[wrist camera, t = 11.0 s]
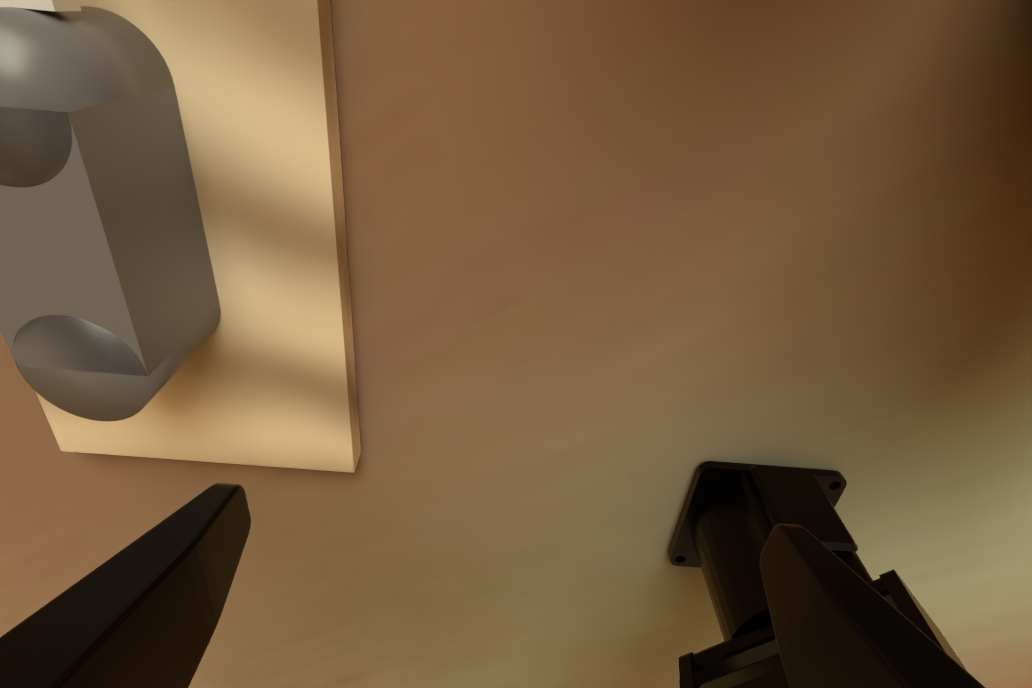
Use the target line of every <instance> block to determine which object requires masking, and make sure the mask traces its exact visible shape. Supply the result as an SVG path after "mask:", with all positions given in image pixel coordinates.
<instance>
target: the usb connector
mask: <svg viewBox="0 0 1032 688" xmlns="http://www.w3.org/2000/svg"><path fill="white" fill-rule="evenodd" d="M0 6H5V7H0V329H1V331H2V334H3V336H4V338H5V340H6V343H7V345H8V347H9V349H10V352H11V354H12V356H13V358H14V360H15V363H16V365H17V367H18V369H19V371H20V373H21V374H22V376H23V377H24V379H25V380H26V381H27V383H28V384H29V385H30V386H31V387H32V388H33V389H34V390H35V391H36V392H37V393H38V394H39V395H40V396H42V397H43V398H44V399H45V400H47V401H48V402H50V403H51V404H53V405H54V406H56V407H58V408H60V409H62V410H64V411H66V412H68V413H70V414H73V415H75V416H78V417H82V418H85V419H90V420H95V421H108V422H110V421H119V420H124V419H127V418H130V417H132V416H134V415H136V414H137V413H138V412H140V411H141V410H142V409H143V408H144V407H145V406H146V405H147V403H148V402H149V401H150V400H151V399H152V398H153V397H154V396H155V395H156V394H157V393H158V392H159V391H160V390H161V388H162V387H163V386H164V385H165V384H166V383H167V382H168V381H169V380H170V379H171V378H172V377H173V376H174V374H175V373H176V372H177V371H178V370H179V369H180V368H181V367H182V366H183V365H184V364H185V363H186V362H187V361H188V359H189V358H190V357H191V356H192V355H193V354H194V353H195V352H196V351H197V350H198V349H199V348H200V347H201V346H202V344H203V343H204V342H205V341H206V340H207V339H208V338H209V337H210V336H211V335H212V334H213V333H214V331H215V330H216V328H217V327H218V324H219V322H220V316H221V309H220V303H219V298H218V293H217V288H216V284H215V279H214V274H213V269H212V264H211V260H210V255H209V250H208V245H207V240H206V235H205V231H204V226H203V221H202V216H201V211H200V206H199V202H198V197H197V192H196V187H195V182H194V178H193V173H192V168H191V163H190V158H189V153H188V149H187V144H186V139H185V134H184V129H183V124H182V120H181V115H180V110H179V105H178V100H177V96H176V91H175V86H174V82H173V78H172V76H171V73H170V70H169V68H168V66H167V64H166V62H165V60H164V58H163V57H162V55H161V53H160V52H159V50H158V49H157V48H156V46H155V45H154V44H153V43H152V41H151V40H150V39H149V38H148V37H147V36H146V35H145V34H144V33H143V32H142V31H141V30H140V29H139V28H137V27H136V26H135V25H133V24H132V23H131V22H129V21H128V20H126V19H125V18H123V17H121V16H119V15H117V14H115V13H113V12H111V11H108V10H105V9H102V8H97V7H91V6H80V4H79V0H0Z"/></svg>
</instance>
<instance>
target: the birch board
mask: <svg viewBox="0 0 1032 688" xmlns="http://www.w3.org/2000/svg"><path fill="white" fill-rule="evenodd" d="M79 4H80V6H91V7H97V8H102V9H105V10H108V11H111V12H113V13H115V14H117V15H119V16H121V17H123V18H125V19H126V20H128V21H129V22H131V23H132V24H133V25H135V26H136V27H137V28H139V29H140V30H141V31H142V32H143V33H144V34H145V35H146V36H147V37H148V38H149V39H150V40H151V41H152V43H153V44H154V45H155V46H156V48H157V49H158V50H159V52H160V53H161V55H162V57H163V58H164V60H165V62H166V64H167V66H168V68H169V70H170V73H171V76H172V78H173V82H174V86H175V91H176V96H177V100H178V105H179V110H180V115H181V120H182V124H183V129H184V134H185V139H186V144H187V149H188V153H189V158H190V163H191V168H192V173H193V178H194V182H195V187H196V192H197V197H198V202H199V206H200V211H201V216H202V221H203V226H204V231H205V235H206V240H207V245H208V250H209V255H210V260H211V264H212V269H213V274H214V279H215V284H216V288H217V293H218V298H219V303H220V309H221V316H220V322H219V324H218V327H217V328H216V330H215V331H214V333H213V334H212V335H211V336H210V337H209V338H208V339H207V340H206V341H205V342H204V343H203V344H202V346H201V347H200V348H199V349H198V350H197V351H196V352H195V353H194V354H193V355H192V356H191V357H190V358H189V359H188V361H187V362H186V363H185V364H184V365H183V366H182V367H181V368H180V369H179V370H178V371H177V372H176V373H175V374H174V376H173V377H172V378H171V379H170V380H169V381H168V382H167V383H166V384H165V385H164V386H163V387H162V388H161V390H160V391H159V392H158V393H157V394H156V395H155V396H154V397H153V398H152V399H151V400H150V401H149V402H148V403H147V405H146V406H145V407H144V408H143V409H142V410H141V411H140V412H138V413H137V414H136V415H134V416H132V417H130V418H127V419H124V420H119V421H110V422H108V421H95V420H90V419H85V418H82V417H78V416H75V415H73V414H70V413H68V412H66V411H64V410H62V409H60V408H58V407H56V406H54V405H53V404H51V403H50V402H48V401H47V400H45V399H44V398H43V397H42V396H40V395H39V394H38V393H37V392H36V394H37V396H38V398H39V400H40V403H41V405H42V407H43V410H44V412H45V414H46V417H47V419H48V421H49V424H50V426H51V428H52V430H53V433H54V435H55V437H56V440H57V442H58V444H59V447H60V449H61V451H69V452H82V453H96V454H109V455H123V456H136V457H150V458H163V459H177V460H190V461H204V462H218V463H231V464H245V465H258V466H272V467H285V468H299V469H312V470H326V471H339V472H353V473H354V472H355V469H356V466H357V463H358V460H359V458H360V455H361V444H360V429H359V414H358V400H357V385H356V370H355V356H354V341H353V326H352V311H351V297H350V282H349V267H348V253H347V238H346V223H345V208H344V194H343V179H342V164H341V150H340V135H339V120H338V105H337V91H336V76H335V61H334V47H333V32H332V17H331V3H330V0H79ZM0 7H5V6H0Z"/></svg>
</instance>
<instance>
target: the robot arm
mask: <svg viewBox="0 0 1032 688" xmlns="http://www.w3.org/2000/svg"><path fill="white" fill-rule="evenodd" d="M709 472H712V473H710V474H707V473H709ZM846 484H847V483H846V480H845V478H844V477H843V475H842V474H841V473H840V472H838V471H833V470H820V469H807V468H793V467H780V466H767V465H754V464H741V463H728V462H715V461H708V462H704V463H702V464H701V465H699V467H698V468H697V471H696V474H695V477H694V480H693V482H692V485H691V488H690V491H689V494H688V497H687V500H686V502H685V505H684V508H683V511H682V514H681V517H680V520H679V523H678V525H677V528H676V531H675V534H674V537H673V540H672V543H671V545H670V548H669V551H668V555H669V559H670V562H671V563H672V564H673V565H676V566H687V567H701V568H702V571H703V574H704V578H705V581H706V584H707V587H708V590H709V593H710V597H711V600H712V603H713V606H714V609H715V612H716V616H717V619H718V622H719V625H720V628H721V632H722V635H723V638H724V641H725V642H722V643H720V644H717V645H715V646H712V647H710V648H707V649H705V650H702V651H700V652H698V653H695V654H693V653H692V652H691V653H688V654H686V655H683V656H681V657H679V671H680V688H985V687H984V686H983V685H982V684H981V683H979V682H978V681H977V680H976V679H975V678H974V677H973V676H972V675H970V674H969V673H968V672H967V670H966V669H965V667H964V666H963V664H962V663H961V661H960V660H959V658H958V657H957V655H956V654H955V652H954V651H953V649H952V648H951V646H950V645H949V643H948V642H947V640H946V639H945V638H944V636H943V635H942V633H941V632H940V630H939V629H938V627H937V626H936V625H935V623H934V622H933V621H932V619H931V618H930V617H929V615H928V614H927V613H926V611H925V610H924V609H923V607H922V606H921V605H920V603H919V602H918V601H917V599H916V598H915V597H914V595H913V594H912V593H911V591H910V590H909V589H908V587H907V586H906V585H905V583H904V582H903V581H902V579H901V578H900V577H899V575H898V574H897V573H896V571H895V570H894V569H893V570H891V571H888V572H886V573H884V574H881V575H879V576H880V578H879V579H877V580H874V581H873V580H872V578H871V577H870V575H869V573H868V572H867V570H866V568H865V567H864V565H863V563H862V562H861V560H860V558H859V557H858V555H857V553H856V551H857V550H858V547H857V545H856V543H855V541H854V540H853V538H852V536H851V535H850V533H849V532H848V530H847V528H846V527H845V525H844V523H843V522H842V520H841V519H840V517H839V515H838V514H837V512H836V510H835V509H834V507H835V505H836V503H837V502H838V500H839V498H840V496H841V494H842V493H843V491H844V489H845V487H846ZM250 525H251V518H250V513H249V508H248V504H247V499H246V494H245V491H244V488H243V487H242V486H241V485H239V484H228V483H217V484H214V485H212V486H211V487H209V488H208V489H206V490H205V491H204V492H202V493H201V494H199V495H198V496H197V497H195V498H194V499H192V500H191V501H190V502H188V503H187V504H185V505H184V506H183V507H181V508H180V509H179V510H177V511H176V512H174V513H173V514H172V515H170V516H169V517H167V518H166V519H165V520H163V521H162V522H160V523H159V524H158V525H156V526H155V527H153V528H152V529H151V530H149V531H148V532H146V533H145V534H144V535H142V536H141V537H140V538H138V539H137V540H135V541H134V542H133V543H131V544H130V545H128V546H127V547H126V548H124V549H123V550H121V551H120V552H119V553H117V554H116V555H114V556H113V557H112V558H110V559H109V560H108V561H106V562H105V563H103V564H102V565H101V566H99V567H98V568H96V569H95V570H94V571H92V572H91V573H89V574H88V575H87V576H85V577H84V578H82V579H81V580H80V581H78V582H77V583H75V584H74V585H73V586H71V587H70V588H69V589H67V590H66V591H64V592H63V593H62V594H60V595H59V596H57V597H56V598H55V599H53V600H52V601H50V602H49V603H48V604H46V605H45V606H43V607H42V608H41V609H39V610H38V611H36V612H35V613H34V614H32V615H31V616H30V617H28V618H27V619H25V620H24V621H23V622H21V623H20V624H18V625H17V626H16V627H14V628H13V629H11V630H10V631H9V632H7V633H6V634H4V635H3V636H2V637H0V688H188V687H189V685H190V683H191V680H192V678H193V676H194V674H195V672H196V670H197V668H198V665H199V663H200V661H201V659H202V657H203V655H204V652H205V650H206V648H207V646H208V644H209V642H210V640H211V637H212V635H213V633H214V631H215V628H216V626H217V624H218V621H219V618H220V616H221V613H222V610H223V608H224V605H225V602H226V599H227V596H228V593H229V590H230V587H231V584H232V581H233V578H234V575H235V573H236V570H237V567H238V564H239V561H240V558H241V555H242V552H243V549H244V546H245V543H246V540H247V537H248V534H249V531H250Z"/></svg>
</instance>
